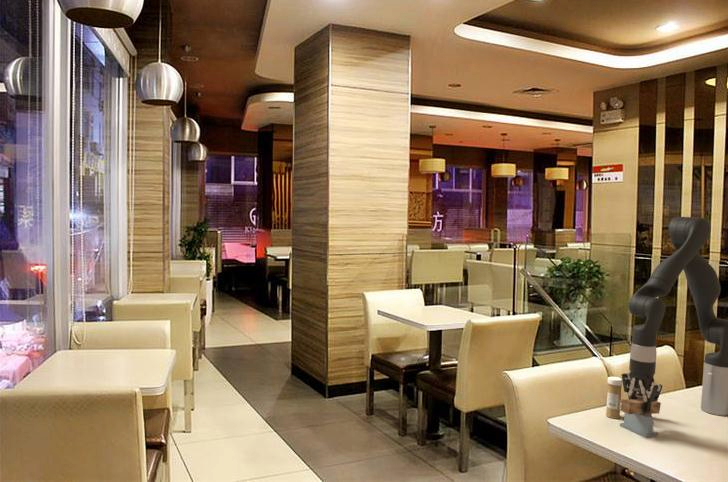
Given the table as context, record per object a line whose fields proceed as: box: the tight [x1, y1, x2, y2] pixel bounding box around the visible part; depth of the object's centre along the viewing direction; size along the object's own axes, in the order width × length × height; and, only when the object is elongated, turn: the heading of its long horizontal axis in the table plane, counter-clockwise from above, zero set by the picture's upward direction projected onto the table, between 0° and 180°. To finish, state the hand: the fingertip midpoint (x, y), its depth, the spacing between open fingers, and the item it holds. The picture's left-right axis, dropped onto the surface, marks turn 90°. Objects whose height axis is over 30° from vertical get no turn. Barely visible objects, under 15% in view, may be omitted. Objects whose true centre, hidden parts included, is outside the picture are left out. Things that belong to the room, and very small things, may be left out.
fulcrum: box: [619, 413, 658, 439], centre depth 186 cm, size 5×10×6 cm, turn 24°
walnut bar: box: [620, 399, 662, 415], centre depth 186 cm, size 14×3×4 cm, turn 114°
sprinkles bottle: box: [605, 376, 623, 420], centre depth 197 cm, size 5×5×14 cm
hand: (639, 409), depth 186 cm, fingers open, 4 cm apart
